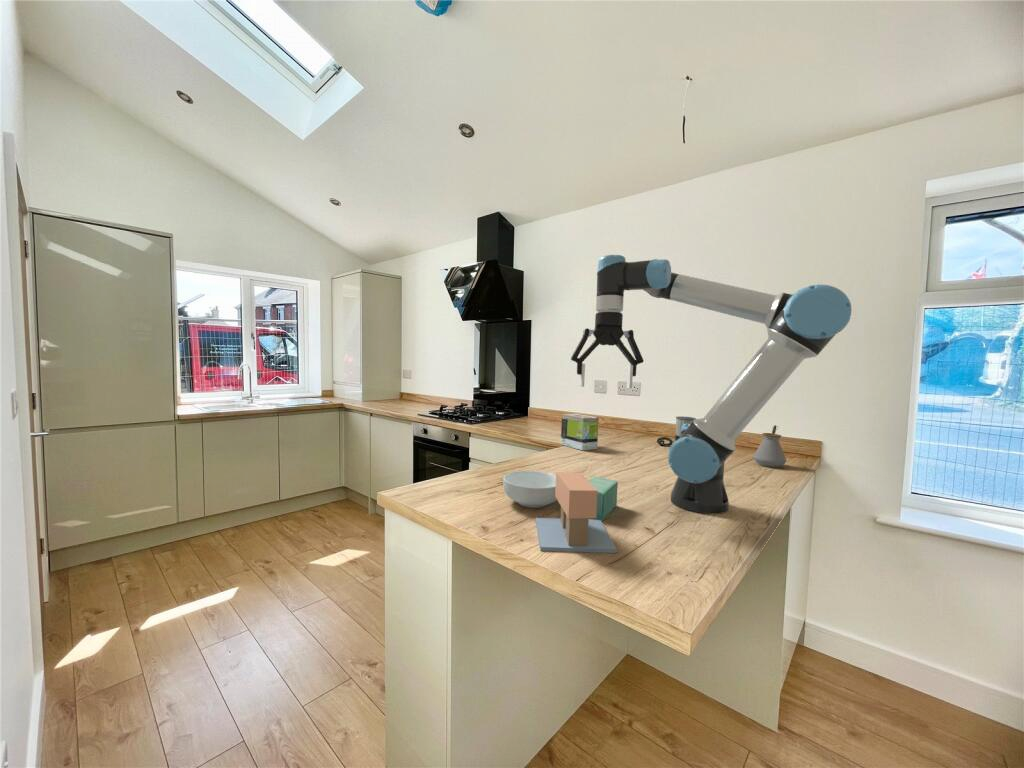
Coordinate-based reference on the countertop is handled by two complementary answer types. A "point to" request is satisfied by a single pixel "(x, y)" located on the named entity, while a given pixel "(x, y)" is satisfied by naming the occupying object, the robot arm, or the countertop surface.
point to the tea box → (579, 431)
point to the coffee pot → (770, 451)
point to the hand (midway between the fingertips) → (605, 387)
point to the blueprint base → (559, 541)
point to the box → (604, 495)
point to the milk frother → (679, 423)
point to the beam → (576, 495)
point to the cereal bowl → (530, 488)
